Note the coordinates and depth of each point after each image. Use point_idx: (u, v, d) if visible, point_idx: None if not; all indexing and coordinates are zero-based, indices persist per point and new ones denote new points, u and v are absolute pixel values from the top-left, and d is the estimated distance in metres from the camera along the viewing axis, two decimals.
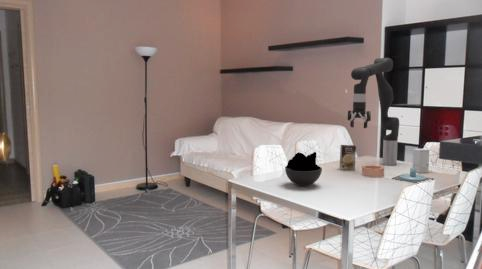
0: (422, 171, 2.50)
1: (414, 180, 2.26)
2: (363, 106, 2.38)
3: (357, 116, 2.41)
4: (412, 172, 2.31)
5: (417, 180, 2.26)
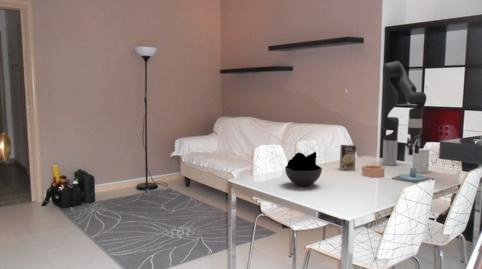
0: (422, 171, 2.50)
1: (414, 180, 2.26)
2: None
3: None
4: (412, 172, 2.31)
5: (417, 180, 2.26)
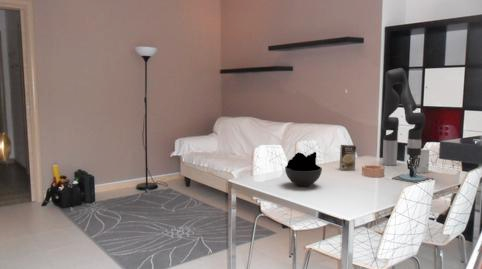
0: (422, 171, 2.50)
1: (414, 180, 2.26)
2: None
3: None
4: None
5: (417, 180, 2.26)
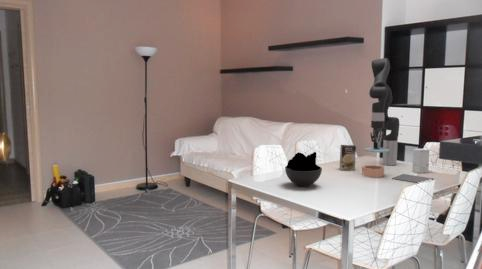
0: (422, 171, 2.50)
1: (377, 151, 2.35)
2: None
3: None
4: None
5: (380, 151, 2.34)
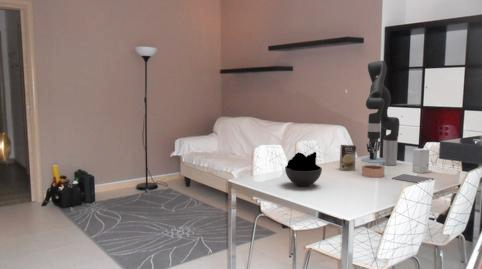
0: (422, 171, 2.50)
1: (373, 162, 2.36)
2: None
3: (374, 145, 2.41)
4: None
5: (376, 162, 2.36)
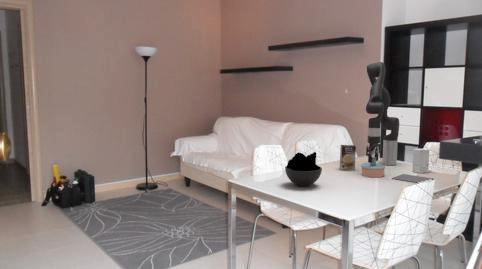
0: (422, 171, 2.50)
1: (373, 168, 2.37)
2: None
3: (374, 150, 2.41)
4: (372, 161, 2.42)
5: (376, 168, 2.37)
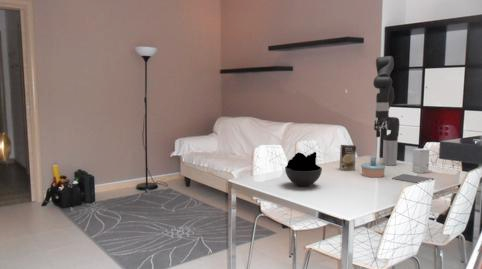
0: (422, 171, 2.50)
1: (373, 168, 2.37)
2: None
3: (383, 125, 2.41)
4: (372, 161, 2.42)
5: (376, 168, 2.37)
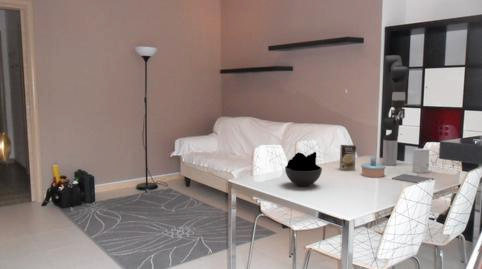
0: (422, 171, 2.50)
1: (373, 168, 2.37)
2: None
3: (399, 114, 2.43)
4: (372, 161, 2.42)
5: (376, 168, 2.37)
